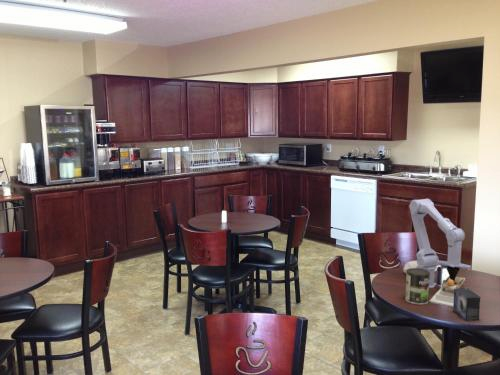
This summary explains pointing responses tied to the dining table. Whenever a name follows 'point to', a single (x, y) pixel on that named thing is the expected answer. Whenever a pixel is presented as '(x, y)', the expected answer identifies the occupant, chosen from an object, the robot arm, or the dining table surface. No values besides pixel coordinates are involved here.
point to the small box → (466, 304)
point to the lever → (457, 283)
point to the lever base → (433, 300)
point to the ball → (450, 282)
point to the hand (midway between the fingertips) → (452, 282)
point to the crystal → (414, 266)
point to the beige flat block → (445, 296)
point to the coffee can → (417, 286)
